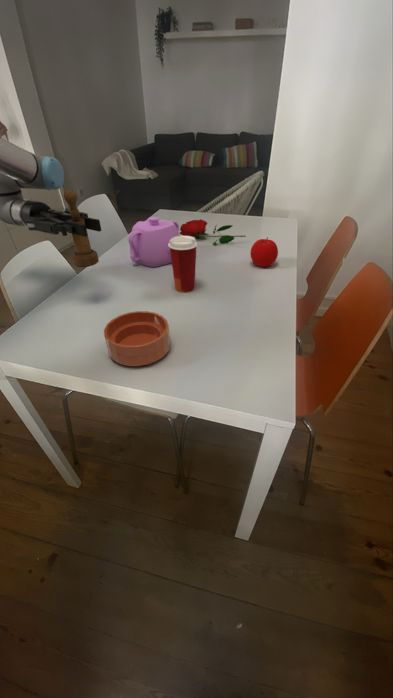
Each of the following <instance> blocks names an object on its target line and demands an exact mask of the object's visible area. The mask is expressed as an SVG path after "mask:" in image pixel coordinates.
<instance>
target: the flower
mask: <svg viewBox="0 0 393 698" xmlns="http://www.w3.org/2000/svg"><path fill="white" fill-rule="evenodd" d="M207 225H208V222H207V221H206V220H205V219H201V218H200V219H191V220H189V221H186V222H185V223H182V224H181V225H180V226H179V235H180V236H191V237H194V238H195V239H196V240H197V239H198V238H199V237H207V238H208V237H209V238H218V240H217V239H215V241H214V242H213V243H212V246H218V243H217V242H219V243H220V244H228V243H230V242H233V241H234V239H235V238H237V237H239V238H243V237H247V235H229V234H224V235H223V234H221V235H215V234H216V232H217V233H218V234H220V232H222V231H226V230H229V229H231V228H233V226H234V225H233V224H232V225H231V224H227V225H222V226H220V227H219V228H217V226H218V224H216V225H215V226H214V228H213V231H212V234H213V235H210V234H209V233H206V231H207V228H206V227H207Z"/></svg>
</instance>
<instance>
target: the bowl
mask: <svg viewBox="0 0 393 698" xmlns="http://www.w3.org/2000/svg"><path fill="white" fill-rule="evenodd" d="M103 337H104V340H105V344H106V348H107V353H108V356H109V357H110V358H111V360H113V361H114V362H116V363H117V364H120V365H123V366H127V367H141V366H146V365H150V364H153V363H155V362H157V361H159V360H161V359H162V358H163V357H165V356H166V354H167V353H168V352H169V350H170V348H171V347H170V346H171V338H170V326H169V322H168V320H167V318H165V317H164V316H163V315H161V314H159V313H156V312H153V311H147V310H145V311H144V310H136V311H129V312H126V313H122V314H120V315H117V316H116V317H114V318H112V319H111V320H110V321H109V322H108V323H106V325H105V327H104V329H103Z"/></svg>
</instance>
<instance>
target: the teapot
mask: <svg viewBox="0 0 393 698" xmlns="http://www.w3.org/2000/svg"><path fill="white" fill-rule="evenodd" d="M176 236H181V234H180V226H179V223H178V221H175V220H172V219H170V220H167V219H162V218H159V217H158V216H150V217H148V218H147V220H139V221H137V222H136V223H135V224H134V225H133V226H132V229H131V233H130V234H129V236H128V238H127V239H128V244H129V254H130V259H131V261H133V262H136V263H138V264H140V265H143V266H146V267H149V268H157V267H161V266H165V265H168V264H170V263H171V264H172V260H171V252H170V247H169V246H168V244H169V241H170V240H171V239H172V238H173V237H176Z"/></svg>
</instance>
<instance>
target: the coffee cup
mask: <svg viewBox="0 0 393 698" xmlns="http://www.w3.org/2000/svg"><path fill="white" fill-rule="evenodd" d="M168 246H169V247H170V252H171V260H172V262H171V267H172V274H173V282H174V288H175V290H176V291H177V292H179V293H190V292H193V291H194V290H195V288H196V287H195V285H196V265H197V246H198V242H197V238H196V239H195V238H194V237H192V236H183V235H180V236H176V237H173V238H172V239H171V240H170V241H169V244H168Z"/></svg>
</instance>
